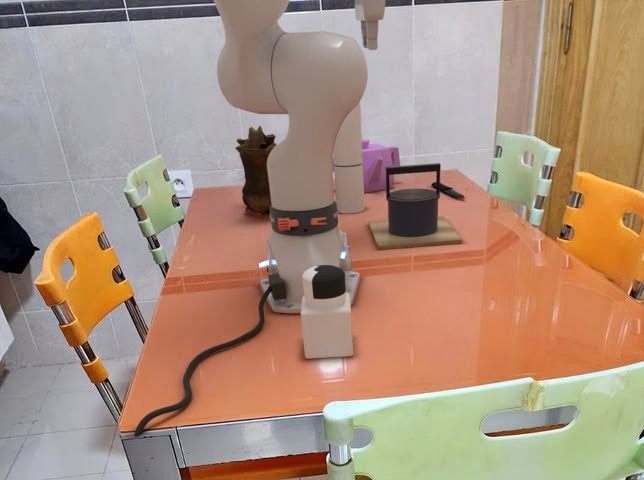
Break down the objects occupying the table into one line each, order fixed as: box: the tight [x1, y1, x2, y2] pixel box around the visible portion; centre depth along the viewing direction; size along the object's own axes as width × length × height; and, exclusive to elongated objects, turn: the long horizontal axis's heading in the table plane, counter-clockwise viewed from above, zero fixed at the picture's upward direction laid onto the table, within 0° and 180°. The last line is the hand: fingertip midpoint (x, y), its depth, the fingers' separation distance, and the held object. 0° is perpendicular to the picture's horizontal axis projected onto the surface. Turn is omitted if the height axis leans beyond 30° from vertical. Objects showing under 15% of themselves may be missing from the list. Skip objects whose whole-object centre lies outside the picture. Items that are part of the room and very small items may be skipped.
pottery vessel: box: [234, 125, 277, 217], centre depth 163 cm, size 25×11×20 cm, turn 7°
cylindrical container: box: [333, 101, 366, 214], centre depth 159 cm, size 7×7×25 cm
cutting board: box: [368, 215, 463, 250], centre depth 146 cm, size 20×18×1 cm
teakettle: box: [333, 139, 401, 194], centre depth 183 cm, size 17×17×12 cm
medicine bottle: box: [300, 265, 354, 360], centre depth 94 cm, size 7×7×12 cm
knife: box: [430, 181, 466, 199], centre depth 175 cm, size 21×1×3 cm
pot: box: [385, 162, 442, 237], centre depth 142 cm, size 12×12×13 cm
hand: (369, 48), depth 128 cm, fingers open, 8 cm apart
